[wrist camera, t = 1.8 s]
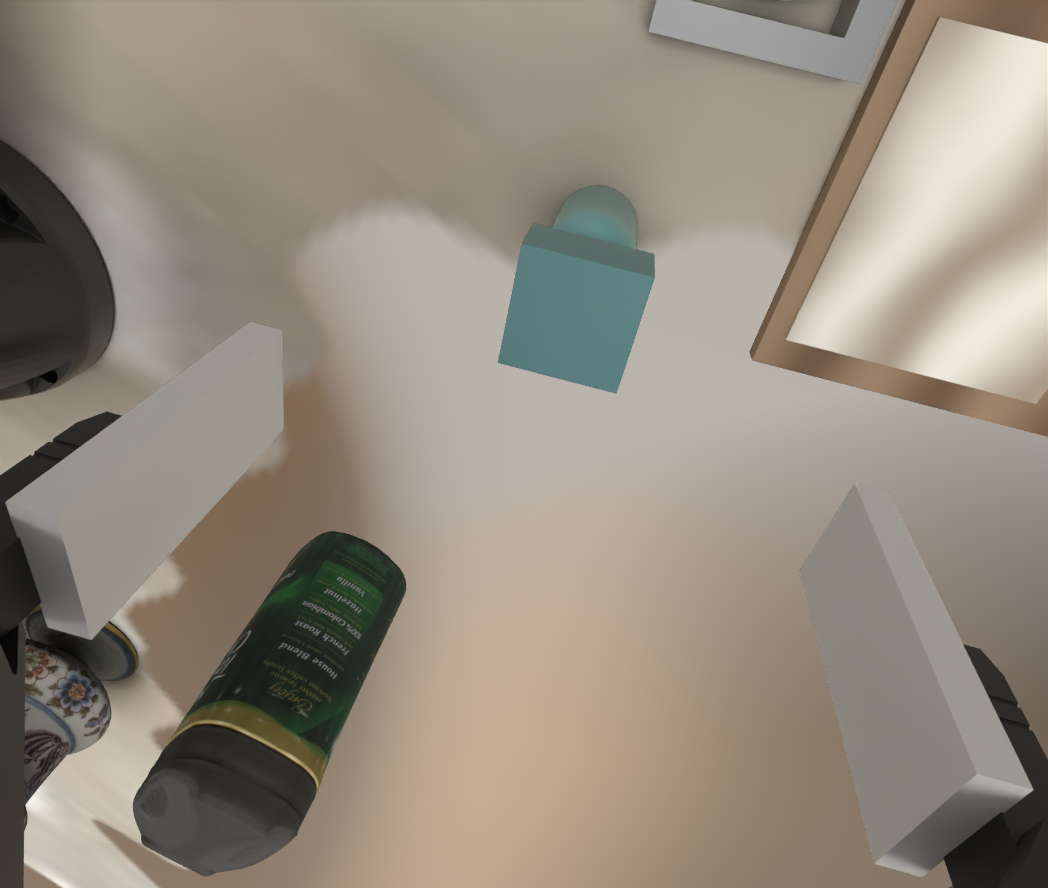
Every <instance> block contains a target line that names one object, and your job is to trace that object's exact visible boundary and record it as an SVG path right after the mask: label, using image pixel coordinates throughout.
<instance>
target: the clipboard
mask: <svg viewBox="0 0 1048 888" xmlns="http://www.w3.org/2000/svg"><path fill="white" fill-rule="evenodd" d="M750 355H751V358H752V360H753V361H757V362H760V363H764V364H768V365H772V366H776V367H780V368H784V369H788V370H792V371H795V372H799V373H803V374H807V375H811V376H815V377H819V378H822V379H826V380H830V381H835V382H838V383H842V384H846V385H850V386H853V387H857V388H861V389H865V390H869V391H873V392H877V393H881V394H884V395H888V396H892V397H896V398H900V399H904V400H908V401H912V402H916V403H919V404H923V405H927V406H931V407H935V408H939V409H943V410H946V411H950V412H954V413H958V414H962V415H966V416H970V417H974V418H978V419H981V420H985V421H989V422H993V423H997V424H1001V425H1005V426H1008V427H1012V428H1016V429H1020V430H1024V431H1028V432H1032V433H1036V434H1040V435H1043V436H1047V437H1048V0H907V1H906V3H905V5H904V8H903V10H902V12H901V14H900V16H899V19H898V21H897V23H896V25H895V28H894V30H893V32H892V34H891V37H890V39H889V41H888V43H887V46H886V48H885V50H884V52H883V54H882V57H881V59H880V61H879V63H878V66H877V68H876V70H875V72H874V75H873V77H872V79H871V81H870V84H869V86H868V88H867V90H866V92H865V95H864V97H863V99H862V101H861V104H860V106H859V108H858V110H857V113H856V115H855V117H854V119H853V122H852V124H851V126H850V128H849V130H848V133H847V135H846V137H845V139H844V142H843V144H842V146H841V148H840V151H839V153H838V155H837V157H836V160H835V162H834V164H833V166H832V168H831V171H830V173H829V175H828V177H827V180H826V182H825V184H824V186H823V189H822V191H821V193H820V195H819V198H818V200H817V202H816V204H815V206H814V209H813V211H812V213H811V215H810V218H809V220H808V222H807V224H806V227H805V229H804V231H803V233H802V236H801V238H800V240H799V242H798V244H797V247H796V249H795V251H794V253H793V256H792V258H791V260H790V262H789V265H788V267H787V269H786V271H785V274H784V276H783V278H782V280H781V282H780V285H779V287H778V289H777V291H776V294H775V296H774V298H773V300H772V303H771V305H770V307H769V309H768V312H767V314H766V316H765V318H764V320H763V323H762V325H761V327H760V329H759V332H758V334H757V336H756V338H755V341H754V343H753V345H752V347H751V350H750Z"/></svg>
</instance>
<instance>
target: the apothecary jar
mask: <svg viewBox="0 0 1048 888" xmlns="http://www.w3.org/2000/svg"><path fill="white" fill-rule="evenodd" d="M26 628H27V632H28V635H29V637H30V639H25V753H24V830H25V827H26V825H27V810H26V807H25V805H26V803H27V802H28V800H29V799H30V798H31V797H32V795H33V794H34V793H35V792H36V790H37V789H38V788H39V787H40V785H41V784H42V783H43V782H44V781H45V779H46V778H47V777H48V776H49V775H50V773H51V772H52V771H53V770H54V769H55V768H56V767H57V766H58V765H59V763H60V762H61V761H62V760H63V759H64V758H65V757H66V755H68V754H73V753H76V752H79V751H82V750H84V749H86V748H88V747H90V746H91V745H93V744H94V743H96V742H97V741H98V740H99V739H100V738H101V737H102V736H103V735H104V733H105V732H106V730H107V728H108V726H109V723H110V720H111V707H110V701H109V697H108V695H107V692H106V690H105V688H104V686H103V685H102V683H101V682H100V680H103V681H115V680H120V679H124V678H127V677H129V676H131V675H132V674H133V673H134V672H135V671H136V669H137V667H138V658H137V653H136V651H135V649H134V647H133V646H132V644H131V643H130V641H129V640H128V639H127V638H126V637H125V636H124V635H123V634H122V633H121V632H120V631H119V630H118V629H117V628H116V627H114V626H113V625H112V624H110V623H109V622H108V623H107V624H106V625H105V626H104V627H103V628H102V629H101V630H100V631H99V632H98V633H97V635H96V636H95V637H94V638H93V639H92V640H90V639H86V638H83V637H79V636H76V635H72V634H69V633H65V632H62V631H58V630H55V629H51V628H48V627H47V624H46V621H45V618H44V615H43V612H42V609H41V606H40V605H38V606H37V607H36V608H35V609H34V610H33V611H32V612H31V613H30V614H29V615H28V616H27V619H26Z"/></svg>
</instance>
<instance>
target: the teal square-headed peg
mask: <svg viewBox="0 0 1048 888" xmlns="http://www.w3.org/2000/svg"><path fill="white" fill-rule="evenodd" d="M636 240H637V218H636V214H635V211H634V209H633V207H632V205H631V204H630V202H629V201H628V200H627V198H626V197H625V196H623V195H622V194H621V193H620V192H618V191H616V190H614V189H612V188H609V187H605V186H590V187H585V188H583V189H580V190H578V191H577V192H575V193H574V194H572V195H571V196H570V197H569V198H568V199H567V200H566V201H565V202H564V204H563V205H562V207H561V209H560V211H559V213H558V215H557V217H556V219H555V222H554V224H553V226H552V228H551V227H547V226H543V225H539V224H535V223H533V225H532V227H531V228H530V230H529V232H528V234H527V235H526V237H525V239H524V241H523V242H522V245H521V250H520V255H519V260H518V265H517V270H516V275H515V280H514V285H513V290H512V295H511V300H510V305H509V310H508V315H507V320H506V325H505V331H504V335H503V340H502V345H501V350H500V355H499V360H498V363H501V364H505V365H509V366H512V367H516V368H520V369H524V370H528V371H532V372H536V373H539V374H543V375H547V376H551V377H555V378H559V379H562V380H566V381H570V382H574V383H578V384H582V385H586V386H589V387H593V388H597V389H601V390H605V391H608V392H612V393H617V390H618V387H619V384H620V381H621V378H622V375H623V372H624V369H625V366H626V363H627V360H628V357H629V354H630V351H631V348H632V345H633V342H634V339H635V336H636V333H637V329H638V327H639V323H640V321H641V317H642V314H643V311H644V308H645V305H646V302H647V299H648V296H649V293H650V290H651V287H652V284H653V281H654V277H655V266H654V254H653V253H649V252H645V251H641V250H637V249H636Z"/></svg>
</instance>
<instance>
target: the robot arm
mask: <svg viewBox="0 0 1048 888" xmlns="http://www.w3.org/2000/svg"><path fill="white" fill-rule="evenodd" d="M112 323H113V302H112V295H111V290H110V285H109V281H108V278H107V274H106V271H105V268H104V265H103V263H102V260H101V258H100V255H99V253H98V251H97V249H96V247H95V245H94V243H93V241H92V239H91V237H90V236H89V234H88V232H87V230H86V229H85V227H84V225H83V224H82V222H81V221H80V219H79V218H78V216H77V215H76V213H75V212H74V211H73V209H72V208H71V207H70V205H69V204H68V203H67V201H66V200H65V199H64V198H63V197H62V195H61V194H60V193H59V192H58V191H57V190H56V189H55V187H54V186H53V185H52V184H51V183H50V182H49V181H48V180H47V179H46V178H45V177H44V176H43V175H42V174H41V173H40V172H39V171H38V170H37V169H36V168H35V167H33V166H32V165H31V164H30V163H29V162H28V161H27V160H25V159H24V158H23V157H22V156H20V155H19V154H18V153H16V152H15V151H14V150H12V149H11V148H10V147H8V146H7V145H5V144H4V143H2V142H1V141H0V401H4V400H9V399H14V398H19V397H23V396H28V395H33V394H37V393H41V392H45V391H48V390H50V389H53V388H55V387H57V386H60V385H62V384H63V383H65V382H66V381H68V380H70V379H71V378H73V377H74V376H76V375H78V374H79V373H81V372H83V371H84V370H86V369H87V368H89V367H90V366H91V365H93V364H94V363H95V362H96V361H97V360H98V359H99V357H100V356H101V355H102V353H103V351H104V350H105V348H106V346H107V343H108V341H109V338H110V335H111V330H112ZM283 406H284V405H283V333H282V330H279V329H276V328H272V327H268V326H264V325H261V324H257V323H253V322H249V323H248V324H246V325H245V326H244V327H242V328H241V329H239V330H238V331H237V332H235V333H234V334H233V335H231V336H230V337H229V338H227V339H226V340H225V341H223V342H222V343H220V344H219V345H218V346H216V347H215V348H214V349H212V350H211V351H210V352H208V353H207V354H206V355H204V356H203V357H201V358H200V359H199V360H197V361H196V362H195V363H193V364H192V365H191V366H189V367H188V368H187V369H185V370H184V371H182V372H181V373H180V374H178V375H177V376H176V377H174V378H173V379H172V380H170V381H169V382H168V383H166V384H165V385H163V386H162V387H161V388H159V389H158V390H157V391H155V392H154V393H153V394H151V395H150V396H149V397H147V398H146V399H144V400H143V401H142V402H140V403H139V404H138V405H136V406H135V407H134V408H132V409H131V410H130V411H128V412H127V413H125V414H124V415H123V416H121V415H117V414H113V413H110V412H105V413H102V414H99V415H96V416H94V417H91V418H88V419H86V420H83V421H80V422H77V423H75V424H74V425H73V426H71V427H70V428H68V429H67V430H65V431H64V432H62V433H61V434H60V435H58V436H57V437H55V438H54V439H53V442H52V443H51V442H48V443H46V444H45V445H44V446H42V447H41V448H39V449H38V450H36V451H35V453H34V455H33V456H31V455H29V456H28V457H26V458H25V459H23V460H22V461H20V462H19V463H18V464H16V465H15V466H13V467H12V468H10V469H9V470H7V471H6V472H4V473H3V474H2V475H0V888H23V868H24V753H25V635H26V634H25V631H24V628H23V625H22V622H21V621H22V620H23V619H24V618H25V617H26V616H28V615H29V614H30V613H31V612H32V611H33V610H34V609H35V608H36V607H37V606H38V605H39V604H40V606H41V609H42V612H43V615H44V618H45V621H46V624H47V627H48V628H51V629H55V630H58V631H62V632H65V633H69V634H72V635H76V636H79V637H83V638H86V639H90V640H92V639H93V638H94V637H95V636H96V635H97V633H98V632H99V631H100V630H101V629H102V628H103V627H104V626H105V625H106V624H107V623H108V621H109V620H110V619H111V618H112V617H113V616H114V615H115V614H116V613H117V612H118V610H119V609H120V608H121V607H122V606H123V605H124V604H125V603H126V602H127V601H128V600H129V598H130V597H131V596H132V595H133V594H134V593H135V592H136V591H137V590H138V589H139V588H140V586H141V585H142V584H143V583H144V582H145V581H146V580H147V579H148V578H149V577H150V576H151V574H152V573H153V572H154V571H155V570H156V569H157V568H158V567H159V566H160V565H161V564H162V562H163V561H164V560H165V559H166V558H167V557H168V556H169V555H170V554H171V553H172V552H173V550H174V549H175V548H176V547H177V546H178V545H179V544H180V543H181V542H182V541H183V540H184V538H185V537H186V536H187V535H188V534H189V533H190V532H191V531H192V530H193V529H194V528H195V526H196V525H197V524H198V523H199V522H200V521H201V520H202V519H203V517H204V516H206V514H207V513H208V512H209V511H210V510H211V509H212V508H213V507H214V506H215V505H216V503H217V502H218V501H219V500H220V499H221V498H222V497H223V496H224V495H225V494H226V493H227V492H228V490H229V489H230V488H231V487H232V486H233V485H234V484H235V483H236V482H237V481H238V480H239V478H240V477H241V476H242V475H243V474H244V473H245V472H246V471H247V470H248V469H249V468H250V466H251V465H252V464H253V463H254V462H255V461H256V460H257V459H258V458H259V457H260V455H261V454H262V453H263V452H264V451H265V450H266V449H267V448H268V447H269V446H270V445H271V443H272V442H273V441H274V440H275V439H276V438H277V437H278V436H279V435H280V434H281V433H282V431H283V430H284V407H283ZM800 574H801V578H802V582H803V586H804V590H805V594H806V598H807V602H808V606H809V609H810V613H811V618H812V621H813V625H814V629H815V633H816V637H817V641H818V645H819V649H820V652H821V657H822V661H823V665H824V669H825V672H826V676H827V680H828V684H829V688H830V692H831V696H832V700H833V704H834V708H835V712H836V716H837V719H838V724H839V728H840V731H841V735H842V739H843V743H844V747H845V751H846V755H847V759H848V763H849V767H850V771H851V775H852V779H853V782H854V786H855V790H856V794H857V798H858V802H859V806H860V809H861V814H862V818H863V822H864V826H865V830H866V834H867V837H868V841H869V845H870V849H871V853H872V857H873V861H874V864H878V865H881V866H885V867H888V868H892V869H895V870H899V871H902V872H906V873H909V874H913V875H916V876H920V877H923V876H924V875H925V874H926V873H928V872H929V871H930V870H932V869H933V868H934V867H935V866H937V865H938V864H939V863H940V862H942V861H943V860H945V863H946V866H947V869H948V872H949V875H950V878H951V881H952V884H953V885H952V886H951V887H950V888H1048V759H1047V757H1046V755H1045V753H1044V752H1043V750H1042V748H1041V746H1040V744H1039V742H1038V740H1037V738H1036V736H1035V734H1034V733H1033V731H1031V730H1029V723H1028V721H1027V719H1026V717H1025V715H1024V713H1023V712H1022V710H1021V708H1018V707H1017V704H1018V702H1017V700H1016V698H1015V696H1014V694H1013V693H1012V691H1011V689H1010V687H1009V685H1008V683H1007V681H1006V679H1005V677H1004V676H1003V675H1002V673H1001V672H1000V671H999V670H998V669H997V668H996V667H995V665H994V664H993V663H992V662H991V661H990V660H989V659H988V657H987V656H986V655H985V654H984V653H983V652H982V651H981V650H980V649H978V648H975V647H971V646H967V645H963V644H962V642H961V639H960V638H959V635H958V633H957V631H956V629H955V627H954V625H953V623H952V621H951V619H950V617H949V615H948V613H947V611H946V609H945V607H944V604H943V602H942V600H941V598H940V596H939V594H938V592H937V590H936V588H935V586H934V584H933V582H932V580H931V578H930V576H929V574H928V571H927V569H926V567H925V565H924V563H923V561H922V559H921V557H920V555H919V553H918V551H917V549H916V547H915V545H914V543H913V541H912V539H911V537H910V535H909V532H908V530H907V528H906V526H905V524H904V522H903V520H902V518H901V516H900V514H899V512H898V510H897V508H896V506H895V504H894V502H893V500H892V498H891V495H890V494H889V492H886V491H882V490H878V489H874V488H870V487H867V486H863V485H859V484H856V483H855V484H854V485H853V487H852V488H851V490H850V491H849V493H848V495H847V496H846V498H845V499H844V501H843V502H842V504H841V506H840V507H839V509H838V510H837V512H836V513H835V515H834V517H833V518H832V520H831V522H830V523H829V525H828V526H827V528H826V529H825V531H824V532H823V534H822V536H821V537H820V539H819V540H818V542H817V543H816V545H815V547H814V548H813V550H812V551H811V553H810V555H809V556H808V558H807V559H806V561H805V563H804V564H803V566H802V568H801V569H800Z"/></svg>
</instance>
